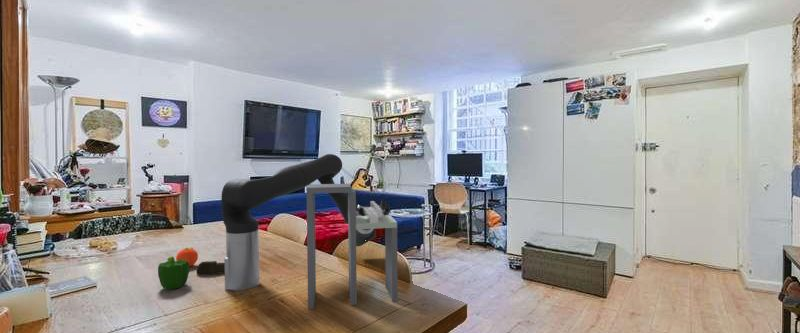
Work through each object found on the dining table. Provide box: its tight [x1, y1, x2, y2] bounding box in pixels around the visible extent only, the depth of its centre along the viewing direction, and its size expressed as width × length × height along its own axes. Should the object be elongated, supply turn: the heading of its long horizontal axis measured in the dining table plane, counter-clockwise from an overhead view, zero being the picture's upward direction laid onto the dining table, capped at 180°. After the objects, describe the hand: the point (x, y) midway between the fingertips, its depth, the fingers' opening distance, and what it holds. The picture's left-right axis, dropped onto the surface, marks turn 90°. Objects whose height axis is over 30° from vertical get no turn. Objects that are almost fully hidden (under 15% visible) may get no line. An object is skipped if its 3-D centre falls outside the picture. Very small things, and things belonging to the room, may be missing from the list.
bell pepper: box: [157, 256, 190, 290], centre depth 107 cm, size 8×8×10 cm
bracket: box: [362, 200, 382, 223], centre depth 104 cm, size 4×20×4 cm, turn 11°
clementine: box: [175, 247, 199, 268], centre depth 128 cm, size 8×7×7 cm
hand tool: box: [196, 260, 225, 276], centre depth 121 cm, size 19×4×5 cm, turn 101°
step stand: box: [306, 183, 399, 310], centre depth 99 cm, size 24×12×32 cm, turn 101°
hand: (369, 202), depth 109 cm, fingers open, 8 cm apart
